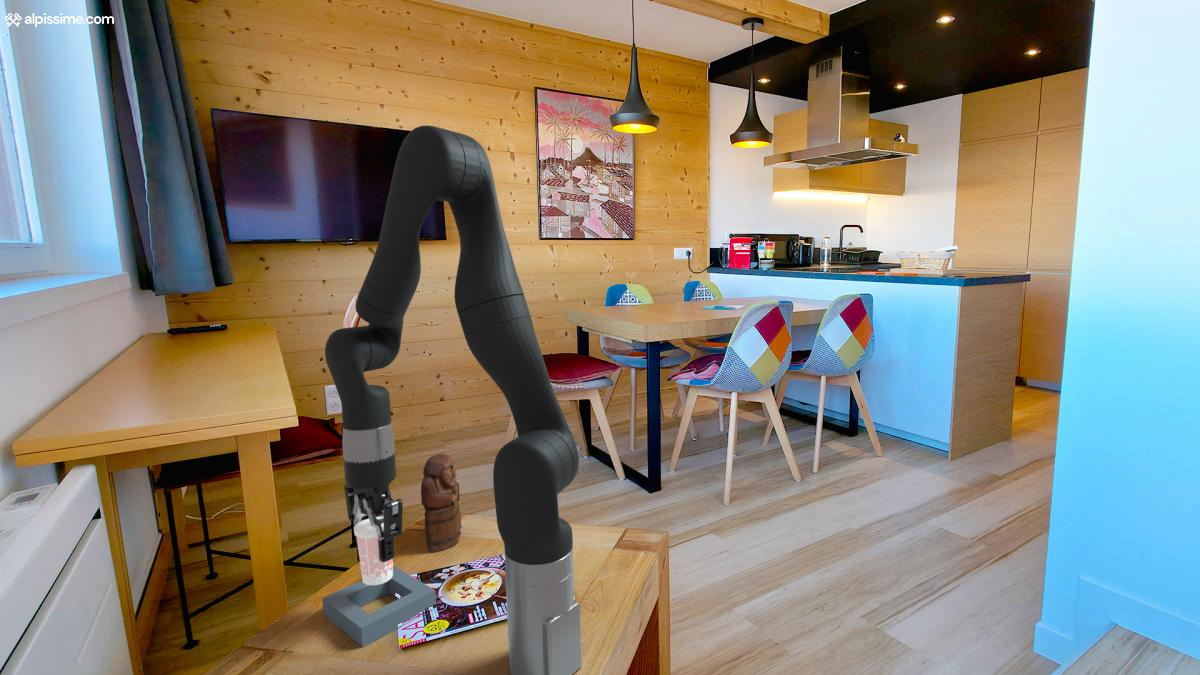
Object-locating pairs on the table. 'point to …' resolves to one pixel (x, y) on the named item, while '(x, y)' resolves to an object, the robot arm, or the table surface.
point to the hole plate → (377, 624)
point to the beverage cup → (371, 555)
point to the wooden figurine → (441, 503)
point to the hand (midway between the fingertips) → (376, 553)
